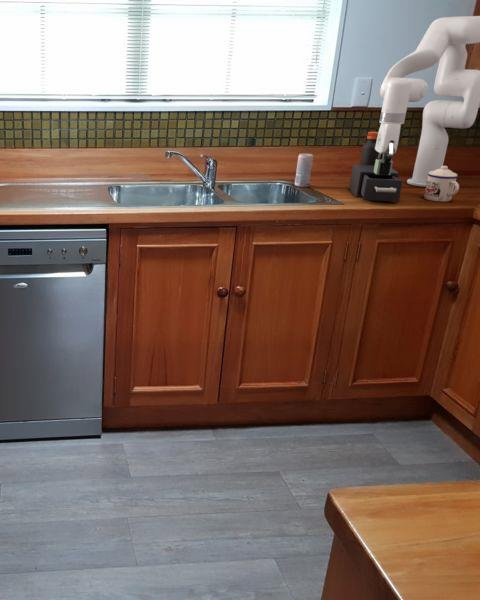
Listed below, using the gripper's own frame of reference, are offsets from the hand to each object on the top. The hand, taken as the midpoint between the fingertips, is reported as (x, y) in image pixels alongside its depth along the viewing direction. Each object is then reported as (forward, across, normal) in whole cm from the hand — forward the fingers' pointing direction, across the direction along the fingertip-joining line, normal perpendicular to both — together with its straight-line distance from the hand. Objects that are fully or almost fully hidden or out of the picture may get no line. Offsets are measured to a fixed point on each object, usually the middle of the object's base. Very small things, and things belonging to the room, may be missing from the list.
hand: (382, 172), depth 211 cm
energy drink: (+10, -19, -23) cm, 32 cm away
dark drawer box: (+10, -11, 0) cm, 14 cm away
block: (0, 0, 0) cm, 0 cm away
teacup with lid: (+10, -5, +22) cm, 24 cm away
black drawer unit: (+9, +1, 0) cm, 9 cm away
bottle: (+10, -26, +1) cm, 28 cm away
